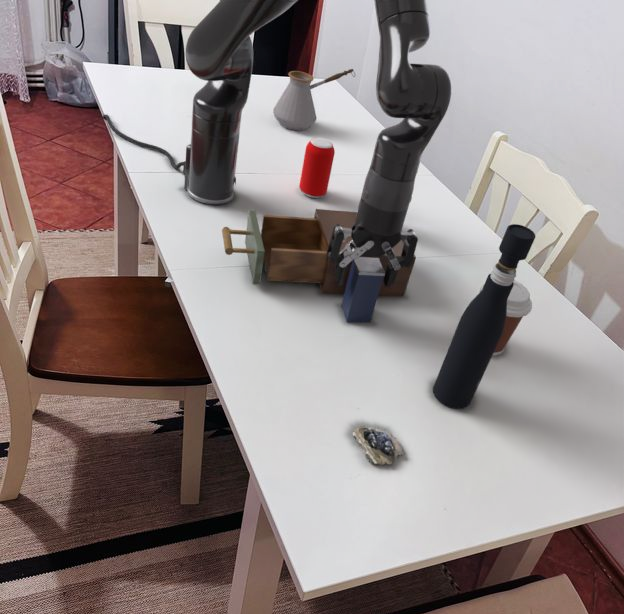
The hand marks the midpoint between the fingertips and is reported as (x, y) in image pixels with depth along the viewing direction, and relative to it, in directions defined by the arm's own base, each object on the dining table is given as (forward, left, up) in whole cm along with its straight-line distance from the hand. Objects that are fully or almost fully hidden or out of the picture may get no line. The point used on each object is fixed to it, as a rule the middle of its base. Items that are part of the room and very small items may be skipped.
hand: (362, 283), depth 111 cm
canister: (0, 0, -7) cm, 7 cm away
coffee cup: (+21, +11, -7) cm, 25 cm away
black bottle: (+22, -6, -7) cm, 24 cm away
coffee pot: (-54, +63, -7) cm, 83 cm away
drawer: (-18, 0, -6) cm, 19 cm away
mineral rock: (+19, -24, -7) cm, 31 cm away
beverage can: (-31, +31, -7) cm, 44 cm away
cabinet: (-7, +11, -7) cm, 15 cm away
